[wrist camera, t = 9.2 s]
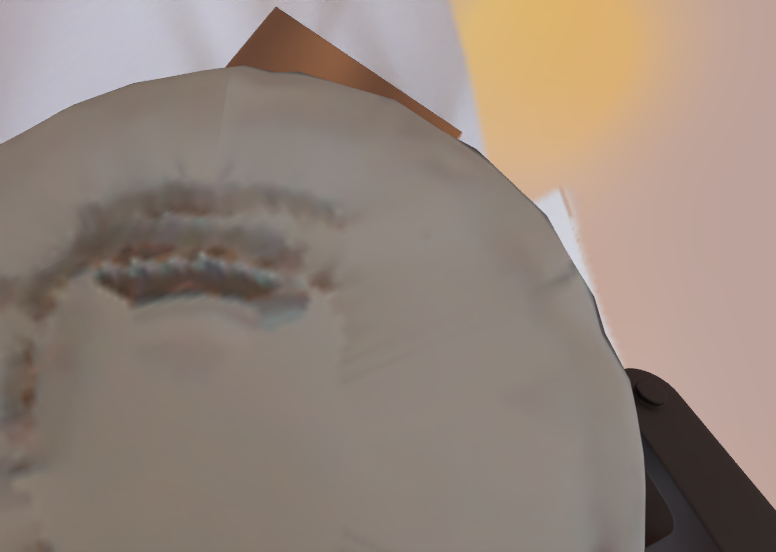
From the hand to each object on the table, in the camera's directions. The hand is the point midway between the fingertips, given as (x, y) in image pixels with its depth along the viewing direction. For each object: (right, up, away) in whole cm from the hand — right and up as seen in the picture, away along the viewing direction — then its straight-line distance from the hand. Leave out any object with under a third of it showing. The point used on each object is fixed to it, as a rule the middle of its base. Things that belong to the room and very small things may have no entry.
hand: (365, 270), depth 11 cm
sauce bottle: (0, -3, +10) cm, 11 cm away
